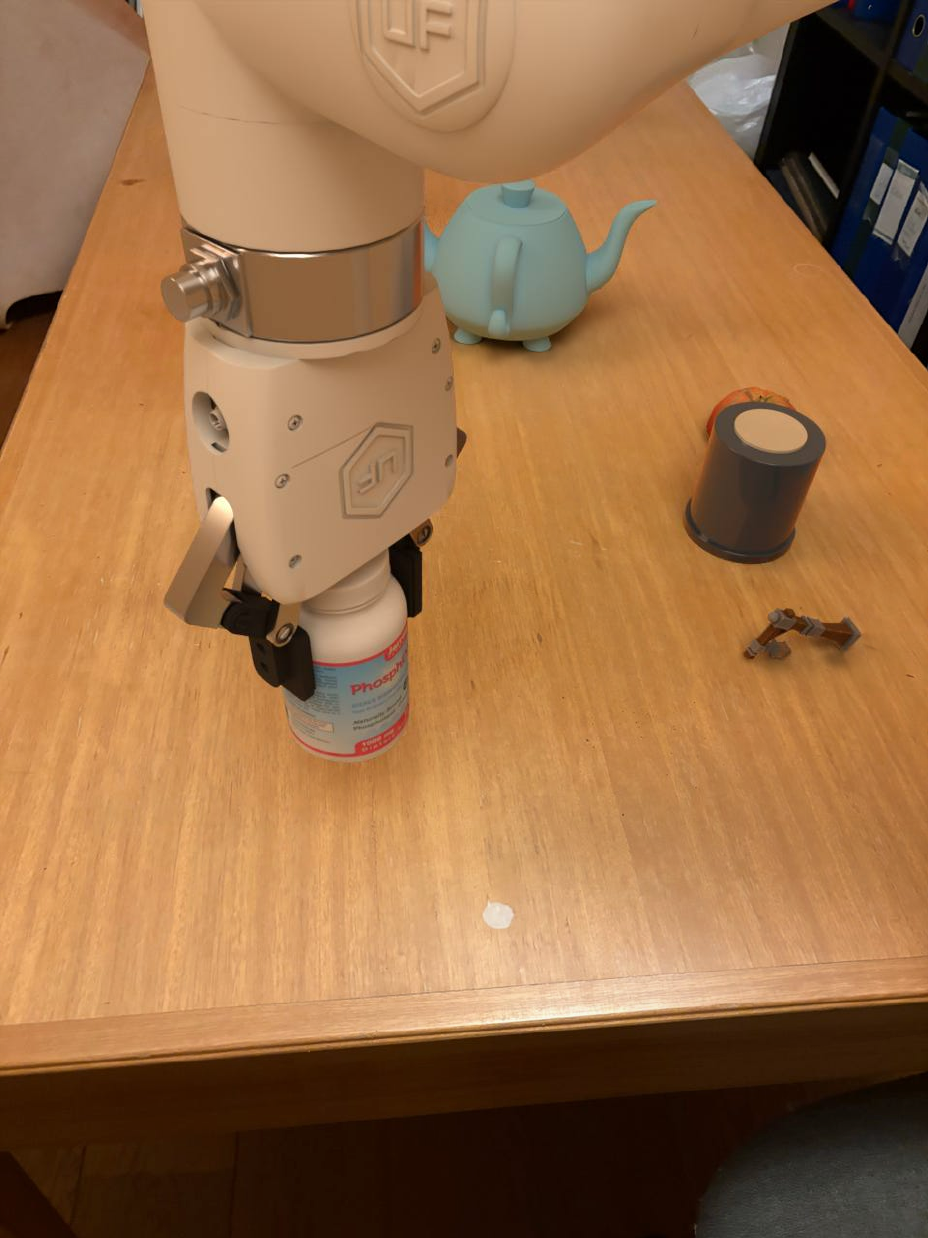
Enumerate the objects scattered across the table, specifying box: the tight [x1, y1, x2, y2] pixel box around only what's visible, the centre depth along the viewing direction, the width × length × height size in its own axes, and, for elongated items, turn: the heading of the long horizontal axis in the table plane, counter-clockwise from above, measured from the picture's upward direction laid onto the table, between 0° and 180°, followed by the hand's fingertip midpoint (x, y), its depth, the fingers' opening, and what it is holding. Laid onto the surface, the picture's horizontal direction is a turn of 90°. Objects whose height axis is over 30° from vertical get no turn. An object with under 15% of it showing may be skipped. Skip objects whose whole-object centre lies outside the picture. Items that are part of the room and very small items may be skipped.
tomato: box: [705, 386, 797, 439], centre depth 81 cm, size 8×7×7 cm
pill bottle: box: [281, 548, 410, 764], centre depth 43 cm, size 6×6×11 cm
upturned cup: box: [682, 402, 827, 565], centre depth 70 cm, size 9×9×9 cm
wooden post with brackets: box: [743, 607, 863, 661], centre depth 63 cm, size 2×8×4 cm, turn 106°
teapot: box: [425, 178, 659, 353], centre depth 89 cm, size 16×20×14 cm
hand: (342, 637), depth 43 cm, fingers closed on pill bottle, 6 cm apart
